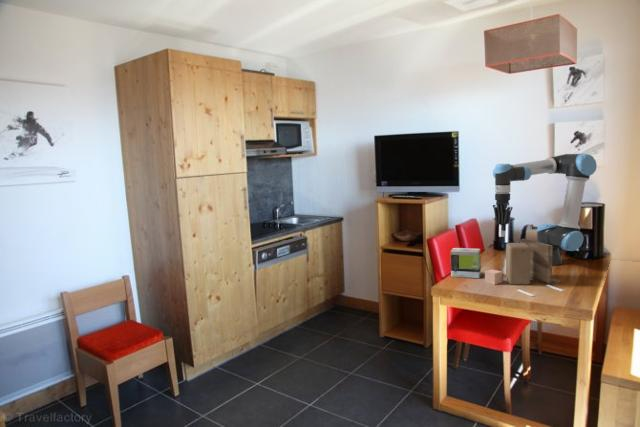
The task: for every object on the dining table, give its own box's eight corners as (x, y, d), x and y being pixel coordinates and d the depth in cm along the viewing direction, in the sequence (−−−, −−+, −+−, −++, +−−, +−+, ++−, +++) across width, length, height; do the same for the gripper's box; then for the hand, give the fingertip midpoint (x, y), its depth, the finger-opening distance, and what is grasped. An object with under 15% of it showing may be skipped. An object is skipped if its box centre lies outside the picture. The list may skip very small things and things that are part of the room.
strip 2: (548, 285, 226) (548, 284, 225) (564, 291, 216) (564, 290, 216) (545, 285, 225) (545, 285, 225) (561, 291, 216) (561, 290, 216)
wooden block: (530, 285, 228) (531, 246, 225) (509, 284, 230) (509, 246, 227) (525, 279, 237) (526, 242, 234) (505, 279, 239) (505, 242, 236)
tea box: (480, 274, 251) (480, 248, 249) (479, 279, 242) (479, 252, 240) (453, 272, 257) (453, 247, 255) (450, 277, 248) (450, 250, 246)
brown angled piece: (531, 273, 248) (532, 237, 245) (560, 282, 229) (561, 244, 226) (519, 274, 246) (519, 239, 243) (547, 284, 227) (548, 246, 224)
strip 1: (519, 290, 221) (519, 289, 221) (534, 296, 211) (534, 295, 211) (517, 290, 220) (517, 289, 220) (532, 296, 211) (532, 295, 211)
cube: (492, 280, 239) (492, 269, 238) (502, 282, 234) (502, 271, 233) (484, 282, 236) (484, 271, 235) (494, 284, 231) (494, 273, 230)
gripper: (488, 192, 244) (488, 235, 247) (505, 194, 231) (504, 239, 234) (500, 191, 246) (499, 233, 249) (517, 193, 233) (516, 237, 237)
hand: (502, 236), depth 242 cm, fingers closed
